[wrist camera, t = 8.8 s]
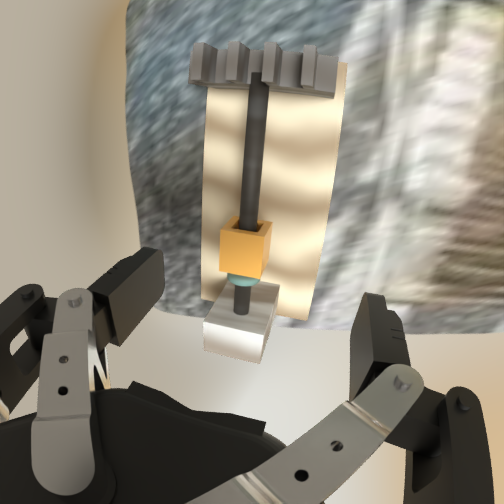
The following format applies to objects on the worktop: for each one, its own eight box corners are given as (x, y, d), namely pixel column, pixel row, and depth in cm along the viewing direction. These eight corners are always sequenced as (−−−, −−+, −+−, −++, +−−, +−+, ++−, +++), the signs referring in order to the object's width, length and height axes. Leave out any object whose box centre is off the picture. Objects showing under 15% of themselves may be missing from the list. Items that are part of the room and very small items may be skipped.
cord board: (215, 56, 29) (164, 34, 19) (346, 65, 26) (355, 38, 16) (205, 292, 42) (168, 346, 32) (308, 313, 39) (296, 378, 29)
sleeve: (233, 215, 29) (220, 229, 26) (272, 221, 29) (264, 237, 25) (231, 253, 31) (218, 270, 28) (268, 260, 31) (260, 279, 27)
